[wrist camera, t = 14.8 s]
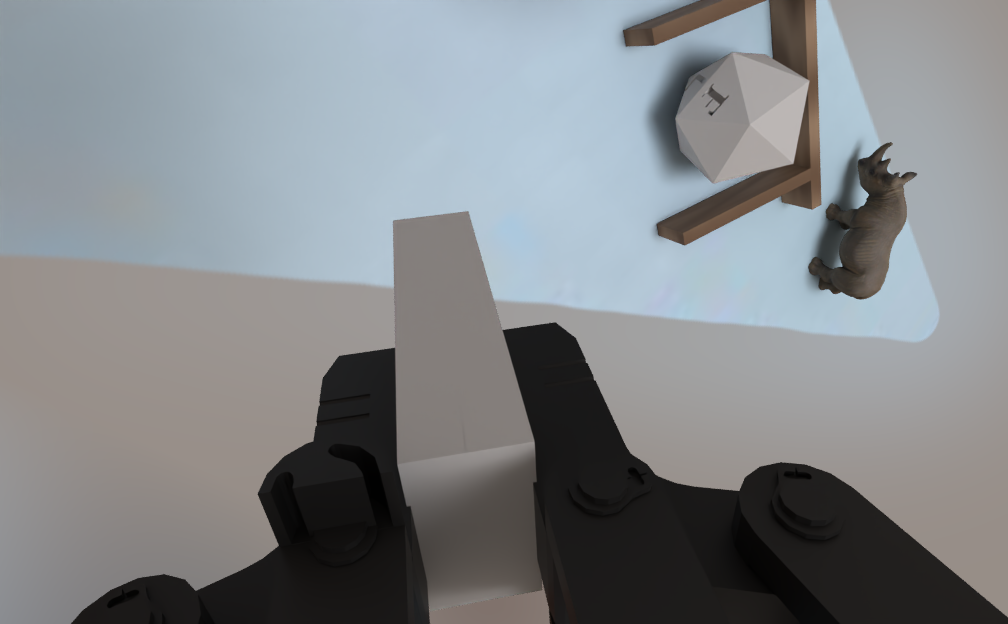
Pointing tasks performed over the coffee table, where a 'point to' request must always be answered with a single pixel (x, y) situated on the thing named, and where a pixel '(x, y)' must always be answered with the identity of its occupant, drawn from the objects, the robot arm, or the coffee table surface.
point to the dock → (801, 178)
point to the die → (741, 116)
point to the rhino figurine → (867, 231)
